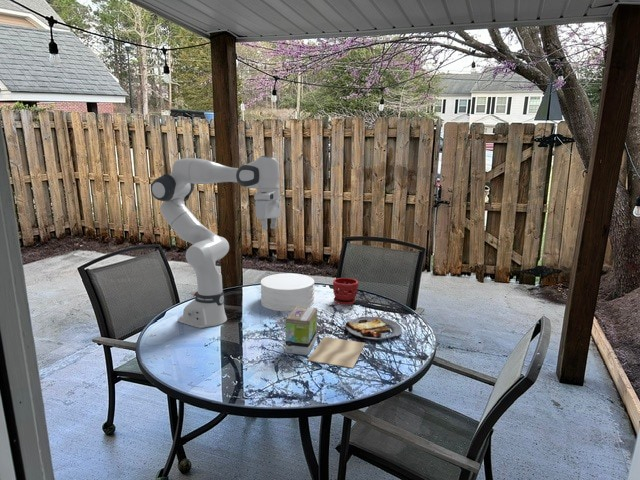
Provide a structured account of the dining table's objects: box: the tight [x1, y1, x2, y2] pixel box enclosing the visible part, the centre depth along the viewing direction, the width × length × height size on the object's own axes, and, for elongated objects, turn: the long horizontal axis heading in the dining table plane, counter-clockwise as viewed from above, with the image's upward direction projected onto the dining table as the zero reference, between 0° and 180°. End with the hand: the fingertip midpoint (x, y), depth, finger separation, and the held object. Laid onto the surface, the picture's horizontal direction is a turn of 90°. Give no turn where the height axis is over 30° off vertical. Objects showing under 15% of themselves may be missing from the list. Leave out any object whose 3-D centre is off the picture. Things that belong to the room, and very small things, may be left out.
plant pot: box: [332, 277, 359, 306], centre depth 231 cm, size 13×13×12 cm
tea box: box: [284, 306, 318, 356], centre depth 180 cm, size 15×10×15 cm, turn 168°
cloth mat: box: [307, 336, 366, 369], centre depth 177 cm, size 18×22×1 cm
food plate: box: [345, 315, 403, 340], centre depth 197 cm, size 25×23×4 cm
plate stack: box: [260, 272, 315, 312], centre depth 231 cm, size 28×28×12 cm
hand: (269, 229), depth 182 cm, fingers open, 8 cm apart
